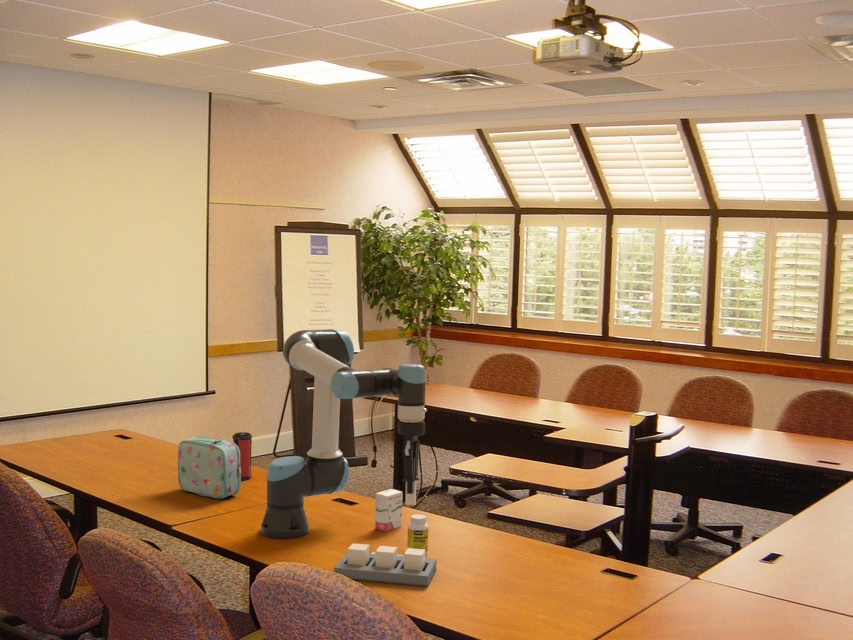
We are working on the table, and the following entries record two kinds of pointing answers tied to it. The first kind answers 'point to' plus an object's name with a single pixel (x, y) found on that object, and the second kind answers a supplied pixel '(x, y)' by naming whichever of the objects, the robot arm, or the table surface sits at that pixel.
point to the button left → (358, 554)
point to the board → (387, 572)
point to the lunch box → (209, 467)
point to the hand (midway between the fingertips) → (410, 504)
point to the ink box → (388, 510)
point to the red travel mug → (244, 453)
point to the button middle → (386, 557)
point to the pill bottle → (418, 533)
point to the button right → (414, 559)
